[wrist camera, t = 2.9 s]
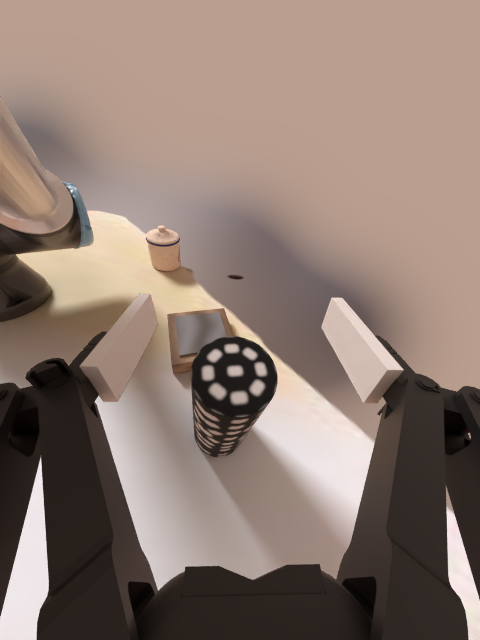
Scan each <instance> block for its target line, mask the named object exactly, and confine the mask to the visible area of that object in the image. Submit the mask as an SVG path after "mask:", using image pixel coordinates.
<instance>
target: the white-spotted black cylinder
mask: <svg viewBox="0 0 480 640" xmlns="http://www.w3.org/2000/svg"><path fill="white" fill-rule="evenodd" d="M276 387H277V371H276V367H275V365H274V362H273V360H272V359H271V357H270V356H269V354H268V353H267V352H266V351H265V350H264V349H263V348H262V347H261V346H259V345H258V344H256V343H254V342H253V341H251V340H248V339H245V338H241V337H231V336H229V337H222V338H218V339H215V340H213V341H211V342H209V343H208V344H206V345H205V346H204V347H202V349H201V350H200V351H199V352H198V353H197V355H196V356H195V358H194V360H193V363H192V366H191V389H192V404H193V420H194V434H195V439H196V442H197V444H198V446H199V447H200V449H201V450H202V451H203V452H205V453H206V454H208V455H210V456H213V457H223V456H227V455H229V454H230V453H232V452H233V451H234V450H235V449H236V448H237V447H238V446H239V444H240V443H241V441H242V440H243V439H244V437H245V436H246V434H247V433H248V432H249V430H250V429H251V428H252V426H253V425H254V423H255V422H256V421H257V419H258V418H259V416H260V415H261V414H262V412H263V411H264V409H265V408H266V407H267V405H268V404H269V402H270V401H271V400H272V398H273V396H274V394H275V392H276Z"/></svg>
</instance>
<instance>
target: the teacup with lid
mask: <svg viewBox="0 0 480 640" xmlns="http://www.w3.org/2000/svg"><path fill="white" fill-rule="evenodd" d="M146 240H147V243H148V248H149V253H150V258H151V263H152V266H153V267H154V268H156V269H157V270H161V271H172V270H175V269H177V268H178V267H179V266H180V264H181V262H180V248H179V240H180V238H179V236H178V234H177V233H176V232H174V231H172V230H168V229H166V228H165V226H158V229H154V230H151V231H149V232H148V233H147V234H146Z"/></svg>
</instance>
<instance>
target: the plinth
mask: <svg viewBox="0 0 480 640" xmlns="http://www.w3.org/2000/svg"><path fill="white" fill-rule="evenodd" d="M167 315H168V327H169V338H170V349H171V361H172V368H173V373H174V374H177V373H182V372H187V371H191V366H192V363H193V360H194V358H195V356H196V355H197V353H198V352H199V351H200V350H201V349H202V347H204V346H205V345H206V344H208V343H209V342H211V341H213V340H215V339H218V338H222V337H229V336H231V337H234V336H233V333H232V331H231V328H230V325H229V322H228V319H227V316H226V313H225V310H224V308H223V309H213V310H203V311H194V312H184V313H174V314H167Z"/></svg>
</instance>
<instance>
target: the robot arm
mask: <svg viewBox="0 0 480 640" xmlns="http://www.w3.org/2000/svg"><path fill="white" fill-rule="evenodd" d="M93 241H94V237H93V232H92V228H91V226H90V221H89V217H88V214H87V211H86V208H85V205H84V202H83V200H82V197H81V195H80V192H79V190H78V189H77V188H76V186H75V185H73V184H71V183H66V182H61V181H60V179H58V178H57V177H56V176H55V175H53V174H52V173H51V172H49V171H48V170H46V169H44V168H43V166H42V165H41V163H40V162H39V160H38V158H37V157H36V155H35V153H34V152H33V150H32V148H31V147H30V145H29V143H28V142H27V140H26V139H25V137H24V135H23V133H22V132H21V130H20V128H19V127H18V125H17V123H16V122H15V120H14V118H13V117H12V115H11V114H10V112H9V110H8V109H7V107H6V105H5V104H4V102H3V100H2V99H1V97H0V321H4V320H8V319H12V318H15V317H18V316H21V315H24V314H26V313H28V312H30V311H32V310H34V309H36V308H37V307H39V306H40V305H41V304H43V303H44V302H45V301H46V300H47V298H48V297H49V295H50V293H51V288H50V286H49V284H48V283H47V281H46V280H45V278H44V277H43V276H41V275H40V274H38V273H37V272H35V271H34V270H33V269H32V268H30V267H29V266H28V265H26V264H25V263H24V262H22V261H21V260H20V259H19V258H18V257H17V256H16V254H22V253H31V252H41V251H50V250H59V249H69V248H75V249H76V248H77V249H78V248H80V247H85V246H90V245H91V244H92V243H93ZM157 326H158V320H157V317H156V313H155V309H154V306H153V302H152V298H151V294H140V293H139V295H138V296H137V297H136V298H135V299H134V301H133V302H132V303H131V304H130V306H129V307H128V308H127V309H126V310H125V312H124V313H123V314H122V315H121V316H120V318H119V319H118V320H117V321H116V323H115V324H114V325H113V326H112V327H111V329H110V330H109V331H108V332H101V333H100V334H98V335H97V336H95V337H94V338H93V339H92V340H91V341H90V342H89V343H88V345H87V346H86V347H85V348H84V349H83V351H81V352H80V354H79V355H78V356H77V357H76V358H75V359H74V360H73V362H72V363H71V364H70V365H69V366H68V365H67V363H66V362H65V361H64V359H61V358H52V359H49V360H45V361H43V362H41V363H39V364H37V365H36V366H34V367H33V368H31V369H30V370H29V372H28V373H27V374H26V377H25V378H26V379H27V380H28V381H29V382H30V383H31V384H32V385H33V386H30V387H26V388H22V389H20V388H19V387H18V386H17V385H16V384H14V383H4V384H0V616H1V612H2V608H3V604H4V600H5V596H6V592H7V588H8V584H9V580H10V576H11V572H12V568H13V564H14V560H15V556H16V552H17V548H18V544H19V540H20V536H21V532H22V528H23V524H24V521H25V517H26V513H27V509H28V505H29V501H30V497H31V493H32V489H33V485H34V481H35V477H36V473H37V469H38V465H39V461H40V457H41V461H42V477H43V494H44V510H45V526H46V542H47V558H48V574H49V591H48V596H47V598H46V600H45V602H44V603H43V605H42V607H41V609H40V613H39V617H38V621H37V640H468V627H467V619H466V613H465V609H464V607H463V604H462V601H461V599H460V598H459V596H458V595H457V594H456V593H455V591H454V590H453V589H452V588H451V585H450V582H449V577H448V553H447V515H446V486H447V490H448V493H449V496H450V500H451V503H452V507H453V510H454V514H455V517H456V520H457V524H458V527H459V531H460V534H461V537H462V541H463V544H464V548H465V551H466V554H467V558H468V561H469V565H470V568H471V571H472V575H473V578H474V582H475V585H476V588H477V592H478V595H479V599H480V389H477V388H475V387H469V386H464V387H462V388H461V389H460V390H459V391H458V392H456V391H452V390H448V389H444V388H441V387H440V386H439V385H438V384H437V383H436V382H435V381H433V380H432V379H430V378H428V377H426V376H423V375H421V374H416V373H415V372H414V371H413V370H412V369H411V368H410V367H409V366H408V365H407V364H406V362H405V361H404V360H403V359H402V358H401V357H400V356H399V355H398V354H397V352H396V351H395V350H394V349H392V347H391V346H390V345H389V343H388V342H387V341H385V340H384V339H382V338H381V337H380V336H374V335H373V334H372V332H370V330H369V329H368V328H367V327H366V326H365V324H364V323H363V322H362V321H361V320H360V319H359V317H358V316H357V315H356V314H355V313H354V311H353V310H352V309H351V308H350V307H349V306H348V304H347V303H346V302H345V301H344V300H343V299H342V298H332V299H331V301H330V304H329V307H328V310H327V313H326V315H325V318H324V321H323V324H322V329H323V331H324V333H325V335H326V337H327V338H328V340H329V342H330V344H331V346H332V347H333V349H334V351H335V353H336V355H337V356H338V358H339V360H340V362H341V363H342V365H343V367H344V369H345V371H346V372H347V374H348V376H349V378H350V380H351V382H352V383H353V385H354V387H355V389H356V391H357V392H358V394H359V396H360V397H361V400H362V401H363V403H378V402H379V400H380V399H381V397H383V398H384V399H385V401H386V402H387V403H386V404H385V405H384V406H383V407H382V409H381V410H380V411H379V412H378V415H380V414H381V413H382V415H381V420H380V424H379V428H378V432H377V437H376V440H375V444H374V449H373V453H372V457H371V461H370V465H369V469H368V473H367V478H366V482H365V486H364V490H363V494H362V498H361V502H360V506H359V511H358V515H357V519H356V523H355V527H354V531H353V535H352V539H351V543H350V545H349V548H348V549H347V551H346V553H345V554H344V556H343V559H342V561H341V564H340V568H339V571H338V575H337V579H334V578H333V577H332V576H330V575H328V574H327V573H325V572H323V571H321V569H320V564H308V565H286V566H283V567H281V568H278V569H276V570H274V571H271V572H269V573H267V574H265V575H263V576H261V577H259V578H257V579H255V580H251V579H248V578H246V577H244V576H241V575H239V574H236V573H234V572H232V571H229V570H227V569H224V568H222V567H220V566H200V567H185V572H183V573H181V574H179V575H177V576H176V577H174V578H173V579H171V580H170V581H169V582H167V583H166V584H165V585H164V586H163V587H162V588H161V589H160V590H159V591H158V589H157V586H156V583H155V580H154V577H153V574H152V571H151V568H150V565H149V563H148V560H147V558H146V556H145V554H144V553H143V551H142V549H141V546H140V543H139V540H138V537H137V534H136V531H135V527H134V524H133V521H132V518H131V514H130V511H129V508H128V505H127V502H126V498H125V495H124V492H123V489H122V485H121V482H120V479H119V476H118V472H117V469H116V466H115V463H114V459H113V456H112V453H111V450H110V446H109V443H108V440H107V437H106V433H105V430H104V427H103V424H102V420H101V417H100V414H99V411H98V408H97V405H96V403H95V400H96V399H97V397H98V395H99V396H100V398H101V399H102V401H105V402H118V401H119V399H120V397H121V395H122V393H123V391H124V389H125V387H126V385H127V383H128V382H129V380H130V378H131V376H132V374H133V372H134V370H135V368H136V366H137V364H138V363H139V361H140V359H141V357H142V355H143V353H144V351H145V349H146V347H147V345H148V343H149V342H150V340H151V338H152V336H153V334H154V332H155V330H156V328H157ZM469 432H470V434H471V439H470V438H469V435H468V433H469Z"/></svg>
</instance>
